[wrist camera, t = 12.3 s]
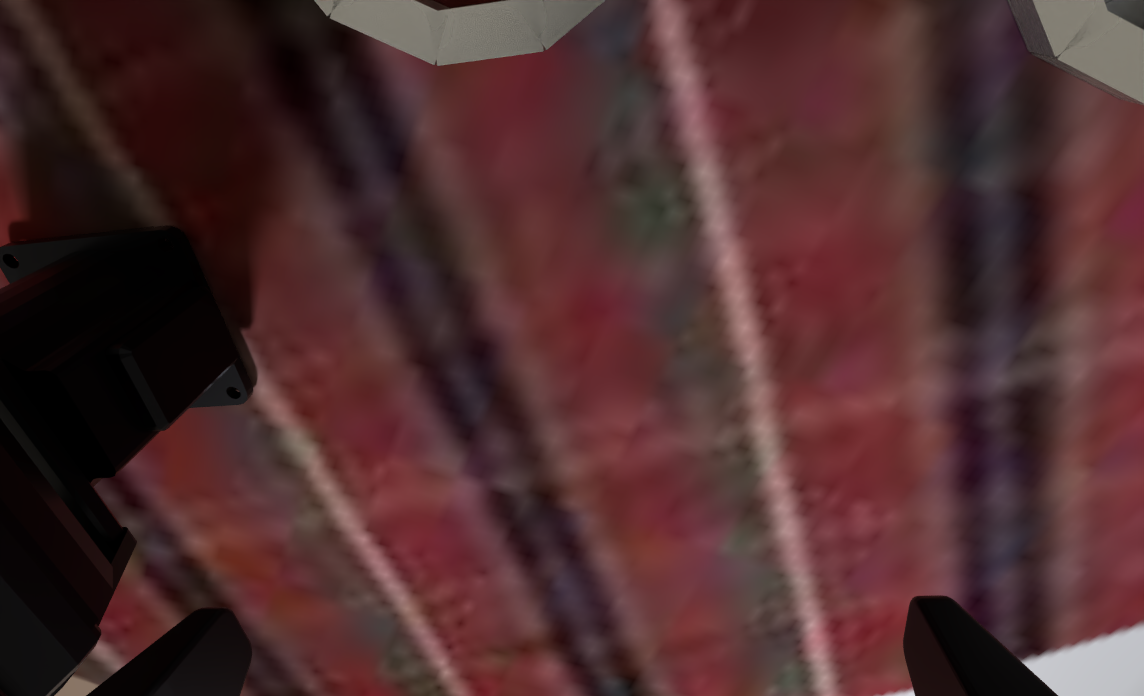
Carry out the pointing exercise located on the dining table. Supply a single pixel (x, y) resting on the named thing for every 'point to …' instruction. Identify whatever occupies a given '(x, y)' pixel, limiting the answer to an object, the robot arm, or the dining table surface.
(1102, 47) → the collar
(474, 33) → the collar
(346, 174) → the dining table surface
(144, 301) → the robot arm
